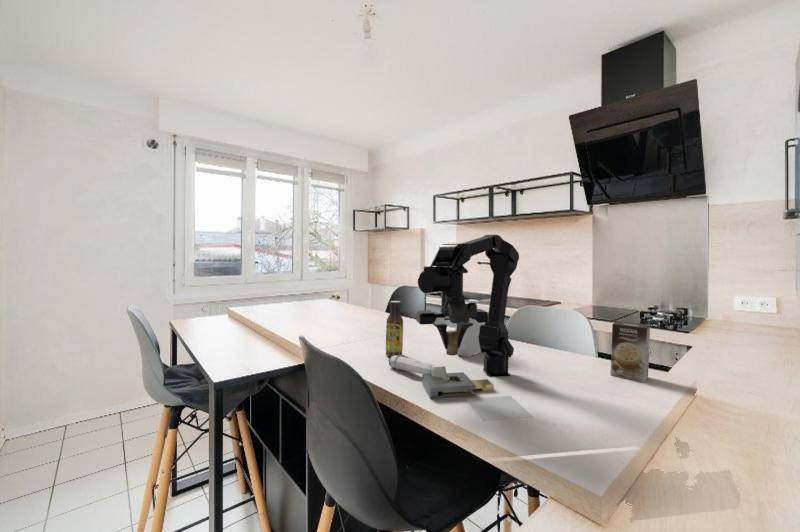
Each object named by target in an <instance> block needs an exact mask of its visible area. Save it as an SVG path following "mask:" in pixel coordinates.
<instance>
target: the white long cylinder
mask: <svg viewBox="0 0 800 532" xmlns="http://www.w3.org/2000/svg"><path fill="white" fill-rule="evenodd" d="M388 365H389V367H391V368H393V369H396V370H398V371H400V370H402V371H408V372H412V373H417V374H421V375H422V374H431V375H432V376H434V377H439V378H442V379H443V380H444V381H445V383H448V381H449V380H450V377H446V376H447V373H448V372H447V368H446V366H445V365H444V364H431V363H427V362H424V361H419V360H416V359H412V358H408V357H404V356H403V354H402V355H400V356H396V355H394V356H391V357H390V356H389V358H388Z"/></svg>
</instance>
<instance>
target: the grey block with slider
mask: <svg viewBox="0 0 800 532" xmlns="http://www.w3.org/2000/svg"><path fill="white" fill-rule="evenodd" d="M446 373H447V376H446V377H450V380H449V381H448V383H445V381H444V380H443V379H442V378H439V377H434V376H432V375H431V374H421V376H422V382H421V384H422V387H423V388H424V391H425V392H426V394H427V395H428V398H429V399H430V400H438V399H440V400H441V399H452V398H453V399H455V398H456V399H457V398H475V397H476V396H477V395H476V392H475V391H474V390H476V389H479V390H480V391H482V392H491V391H494V384H493V383H492V382H491V381H490V380H489V379H488V378H485V379H484V378H483V379H470V377H469V376H468V375H467V374H466V373H465V372H463V371H462V372H446Z"/></svg>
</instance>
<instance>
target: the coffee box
mask: <svg viewBox="0 0 800 532" xmlns="http://www.w3.org/2000/svg"><path fill="white" fill-rule="evenodd" d="M611 329H612V330H611V331H612V332H611V352H610V353H611V354H610V355H611V356H610V357H611V359H610V376H613V377H618V378H623V379H627V380H632V381H636V382H641V383H645V382H646V381H647V380H648V378H649V363H650V336H651V325H650V324H645V323H635V322H628V321H621V320H616V321H614V322H613V323H612V328H611Z"/></svg>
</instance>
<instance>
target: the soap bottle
mask: <svg viewBox="0 0 800 532" xmlns="http://www.w3.org/2000/svg"><path fill="white" fill-rule="evenodd" d="M468 303H476V304H477V303H479V300H478V299H468ZM472 323H473V326H470V327H469V328H468V329H467V330H466V332H465V334H464V336H463V339H462V342H461V345H460V347H459V348H458V355H457V356H461V355H462V357H465V356H467V358H470V357H472V355H473V356H475V355H477V354H476V353H478V354H480V353H482V352H481V349H480V344H479V338H478V336H479V332H480V326H481V325H484V324H485V323H478V322H477V321H476V320H475V319H472ZM456 328H457V324H456V325H455V328H454V331H456ZM479 352H480V353H479ZM474 354H475V355H474ZM469 356H470V357H469Z"/></svg>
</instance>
